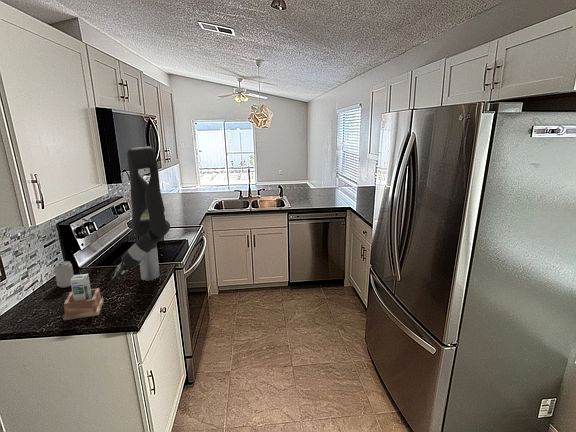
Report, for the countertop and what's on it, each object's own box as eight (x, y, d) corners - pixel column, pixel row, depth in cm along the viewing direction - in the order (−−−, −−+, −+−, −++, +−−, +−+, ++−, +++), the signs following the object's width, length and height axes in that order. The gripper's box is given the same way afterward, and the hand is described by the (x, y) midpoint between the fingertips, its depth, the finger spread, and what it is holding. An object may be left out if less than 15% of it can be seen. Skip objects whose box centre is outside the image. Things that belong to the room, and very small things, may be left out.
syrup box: (75, 311, 144) (69, 280, 140) (78, 304, 149) (73, 274, 145) (90, 309, 145) (85, 278, 142) (93, 302, 151) (88, 272, 147)
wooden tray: (71, 305, 151) (69, 291, 149) (103, 300, 155) (101, 286, 154) (63, 320, 139) (60, 305, 138) (98, 315, 144) (96, 300, 142)
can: (56, 284, 171) (52, 262, 167) (73, 280, 175) (70, 259, 172) (58, 289, 165) (54, 267, 162) (76, 285, 170) (72, 263, 167)
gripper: (129, 244, 154) (105, 271, 153) (126, 255, 141) (99, 284, 140) (143, 254, 157) (119, 280, 156) (141, 265, 144) (115, 294, 143)
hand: (110, 282), depth 148 cm, fingers open, 8 cm apart
